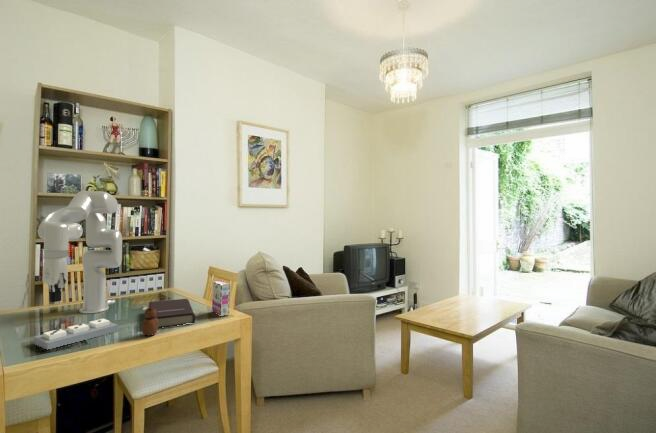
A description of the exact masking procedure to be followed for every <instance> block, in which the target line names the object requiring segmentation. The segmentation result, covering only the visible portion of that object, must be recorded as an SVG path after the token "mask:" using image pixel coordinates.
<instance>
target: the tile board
mask: <svg viewBox="0 0 656 433" xmlns="http://www.w3.org/2000/svg"><path fill="white" fill-rule="evenodd" d="M85 324H86V325H88V326H89V322H88V323H85ZM62 330H64V331H66V332H67V330H68V327H67V328H64V329H62ZM116 331H119V325H118V324H116V323H114V322H111V321H110V325H107V326H103V327H99V328H93V327H90V326H89V330H88V331H84V332H80V333H76V334H71V333H69V332H67V335H66V336H64V337H61V338H57V339H53V340H49V341H48V340H46V339H44V338H43V334H40V335H39V334H38V335H35V336H33V344H34V346H36V345H37V347H38V346H39V348H40V347H42V348H44V349H47V350H48V349H52V348H56V347H60V346H63V345H67V344H71V343H75V342H79V341H83V340H86V341H88V340H87V339H90V338H93V339H95V338H94V337H97V338H99V337H98V336H100V337H102V336H101V335H104V336H106V335H105V334H107V335H110V334H109V333H111V334H113V333H112V332H115V333H117V332H116ZM90 340H91V339H90ZM83 342H84V341H83ZM79 343H80V342H79ZM75 344H76V343H75ZM42 348H41V349H42ZM44 349H43V350H44Z"/></svg>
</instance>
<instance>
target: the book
mask: <svg viewBox="0 0 656 433" xmlns="http://www.w3.org/2000/svg"><path fill="white" fill-rule="evenodd" d="M150 303H152V308H154V309H156V311H157V315H156V316H155V317H157V318H158V321H159V326H158V328H161V329H163V328H162V327H169V328H171V327H170V326H177V325H183V324H186V323H194V324H195V322H196V316H195V313H194V310H193V308H192V305H191V303H190V301H189V299H188V298H180V299H169V300H157V301H149V302H148V309H150ZM177 327H178V326H177Z"/></svg>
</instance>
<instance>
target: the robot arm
mask: <svg viewBox="0 0 656 433" xmlns="http://www.w3.org/2000/svg"><path fill="white" fill-rule="evenodd" d="M118 204H119V202H118V201H117V199H116V197H114V196H113V195H112V194H110V193H109V192H106V191H101V190H100V191H99V190H97V191H96V190H95V191H94V190H82V191H79V192H76V194H75V195H74V196H73V198H72V199H71V200H70V202H69V204H68V205H67V206H65V207H62V208H60V209H57V210H55V211H53V212H50V213H49V214H47V215H46V216H45V217H44V218H43V220H42V221H41V222H40V224H39V226H38V229H37V234H38V237H39V238H40V239H41V240H43V260H44V261H43V268H42V280H41V282H42V283H44V284H46V285H48V286H49V302H50V303H56V302H61V301H62V290H63V288H64V287H65V284H67V282H68V276H69V275H68V259H69V242H70V241H76V240H78V239H80V238H81V237H82V236H83V232H84V230H83V226H82V225H81V224H79V223H78V222H81V221H84V220H85V243H86V245H87V247H90V248H110V249H91V250H88V251H85V252H83V254H82V256H81V262H82V268H83V301H82V302H83V306H82V307H81V308H80V309H79V313H80V314H97V313H102V312H106V311H108V310H109V308H110V306H109V305H112V304H116V299H111V300H110V299H106V295H107V292H106V291H107V290H106V289H107V288H106V286H107V276H106V273H105V272H104V271H103V270H102V269H115V268H118V267H120V266H121V265H122V261H123V235H122V232H121V231H120V230H118V229H111V228H110V229H107V224H106V223H107V221H106V217H105V216H104V215H103V214H115V213H116V212H117V210H118V209H119V208H118V207H119V206H118Z"/></svg>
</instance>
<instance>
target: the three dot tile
mask: <svg viewBox="0 0 656 433" xmlns="http://www.w3.org/2000/svg"><path fill="white" fill-rule="evenodd" d="M42 335H43V338H44V339H46V340H48V341H49V340H53V339H57V338H61V337H64V336H66V335H67V332H66V331H64V330H63V329H62V328H56V329H55V330H50V331H46V332H45V331H44V332H42Z"/></svg>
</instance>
